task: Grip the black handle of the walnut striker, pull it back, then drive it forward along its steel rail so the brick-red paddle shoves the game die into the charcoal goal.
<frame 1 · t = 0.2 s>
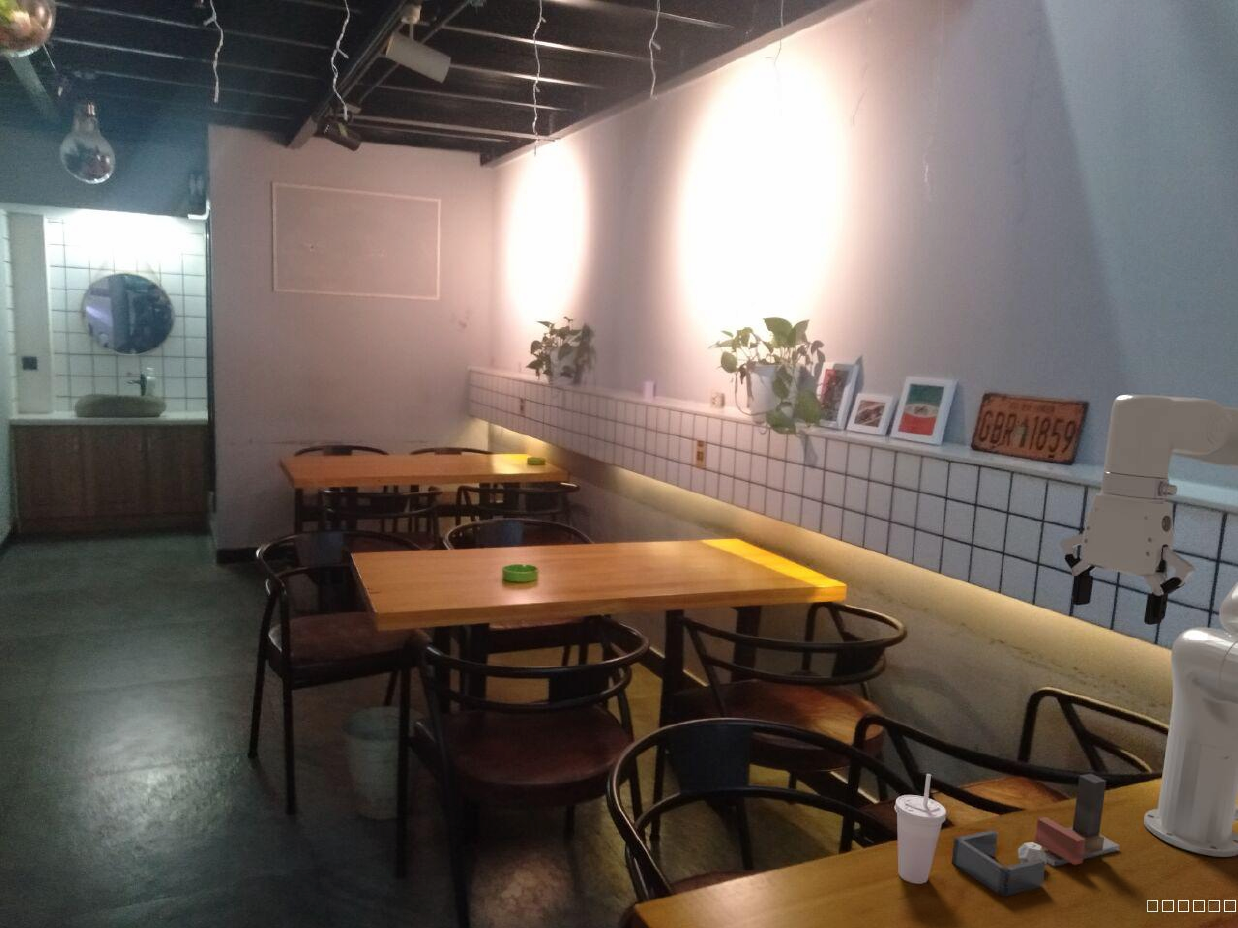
hand: (1115, 613, 123), 36 cm above the table, tool pointing down, fingers open, 9 cm apart
smoothie: (912, 876, 120), on the table
goal: (998, 873, 122), on the table
striker: (1077, 814, 128), point 6 cm above the table, slide at 0.0 cm
game die: (1030, 867, 125), on the table
rail: (1079, 853, 129), on the table
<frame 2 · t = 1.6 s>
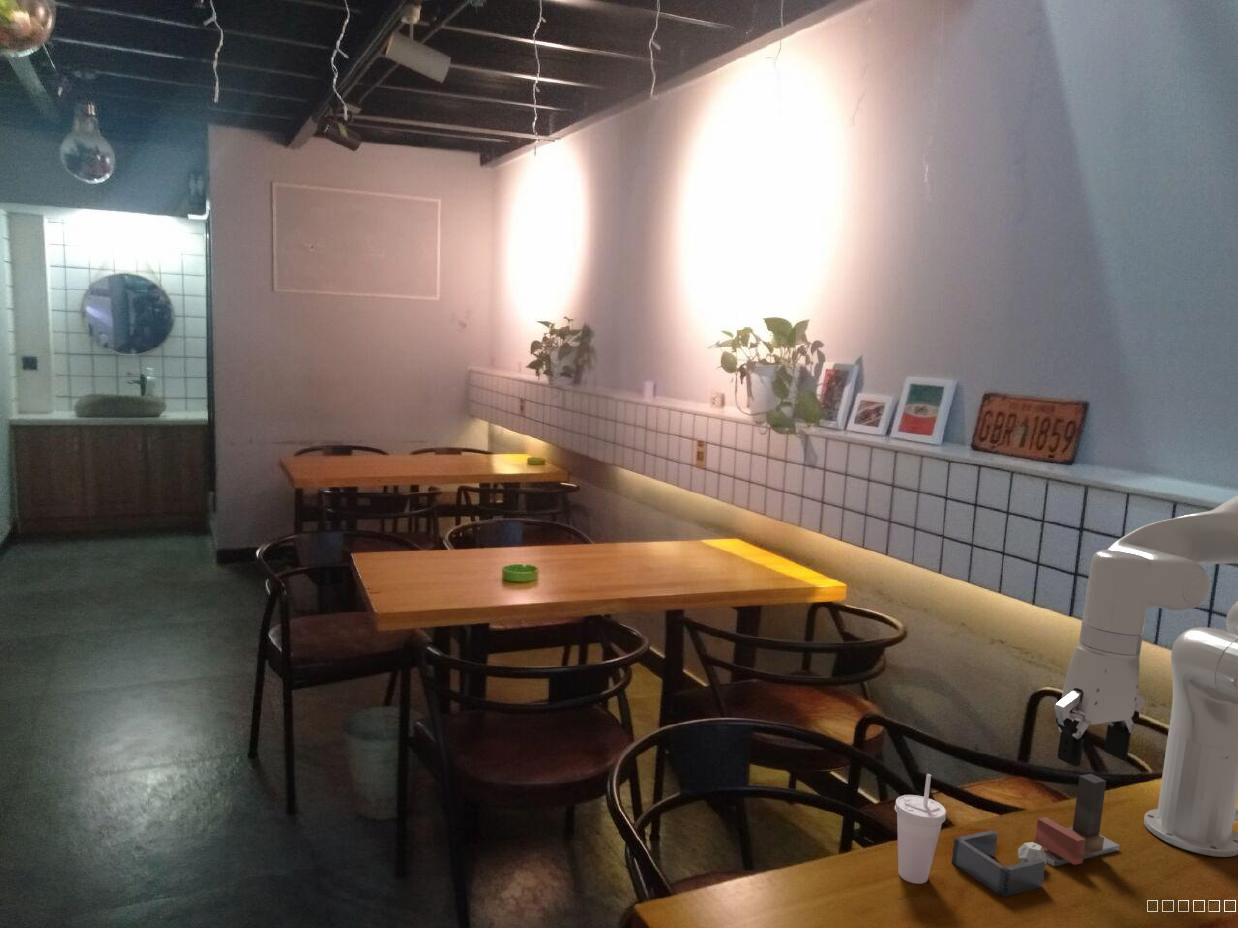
hand: (1092, 758, 128), 14 cm above the table, tool pointing down, fingers open, 9 cm apart
nothing on the table moved.
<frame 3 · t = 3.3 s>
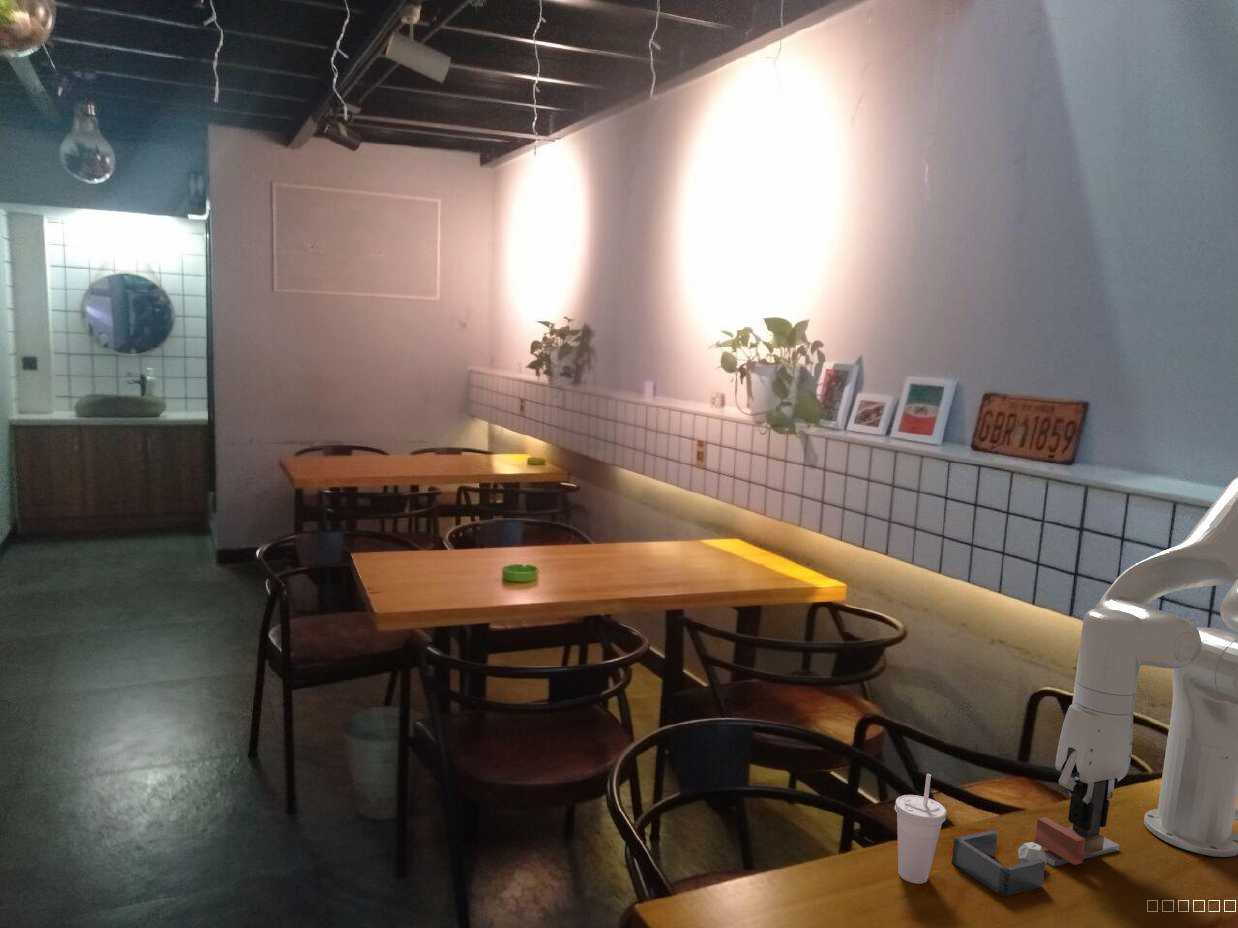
hand: (1086, 823, 129), 4 cm above the table, tool pointing down, fingers closed on striker, 2 cm apart
striker: (1077, 814, 128), point 6 cm above the table, slide at 0.0 cm, touching gripper
everything else where it was.
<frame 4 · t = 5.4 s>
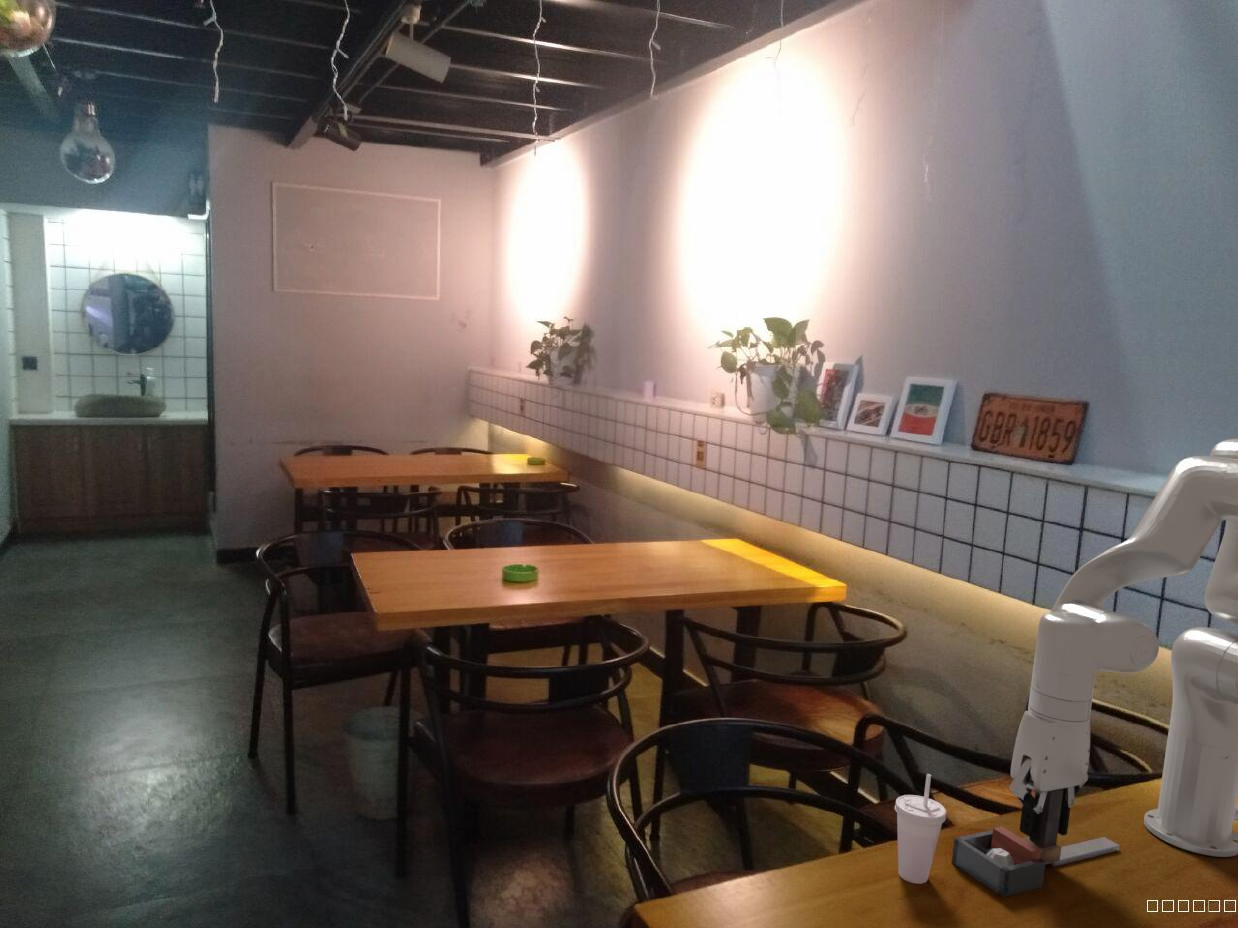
hand: (1043, 831, 125), 5 cm above the table, tool pointing down, fingers open, 4 cm apart
striker: (1033, 823, 124), point 6 cm above the table, slide at 8.7 cm
game die: (997, 874, 123), on the table
everything else where it was.
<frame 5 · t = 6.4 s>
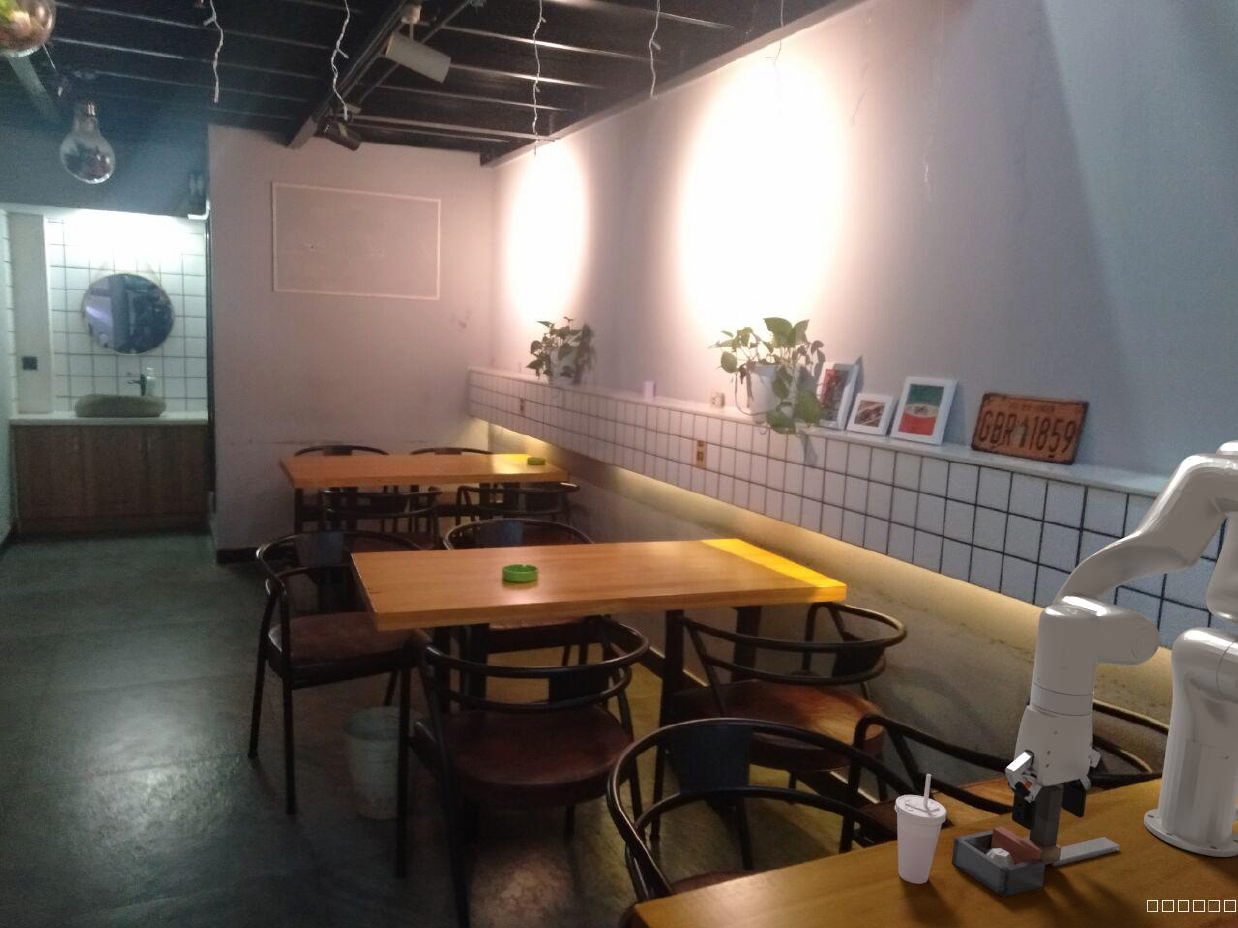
hand: (1047, 818, 125), 6 cm above the table, tool pointing down, fingers open, 9 cm apart
nothing on the table moved.
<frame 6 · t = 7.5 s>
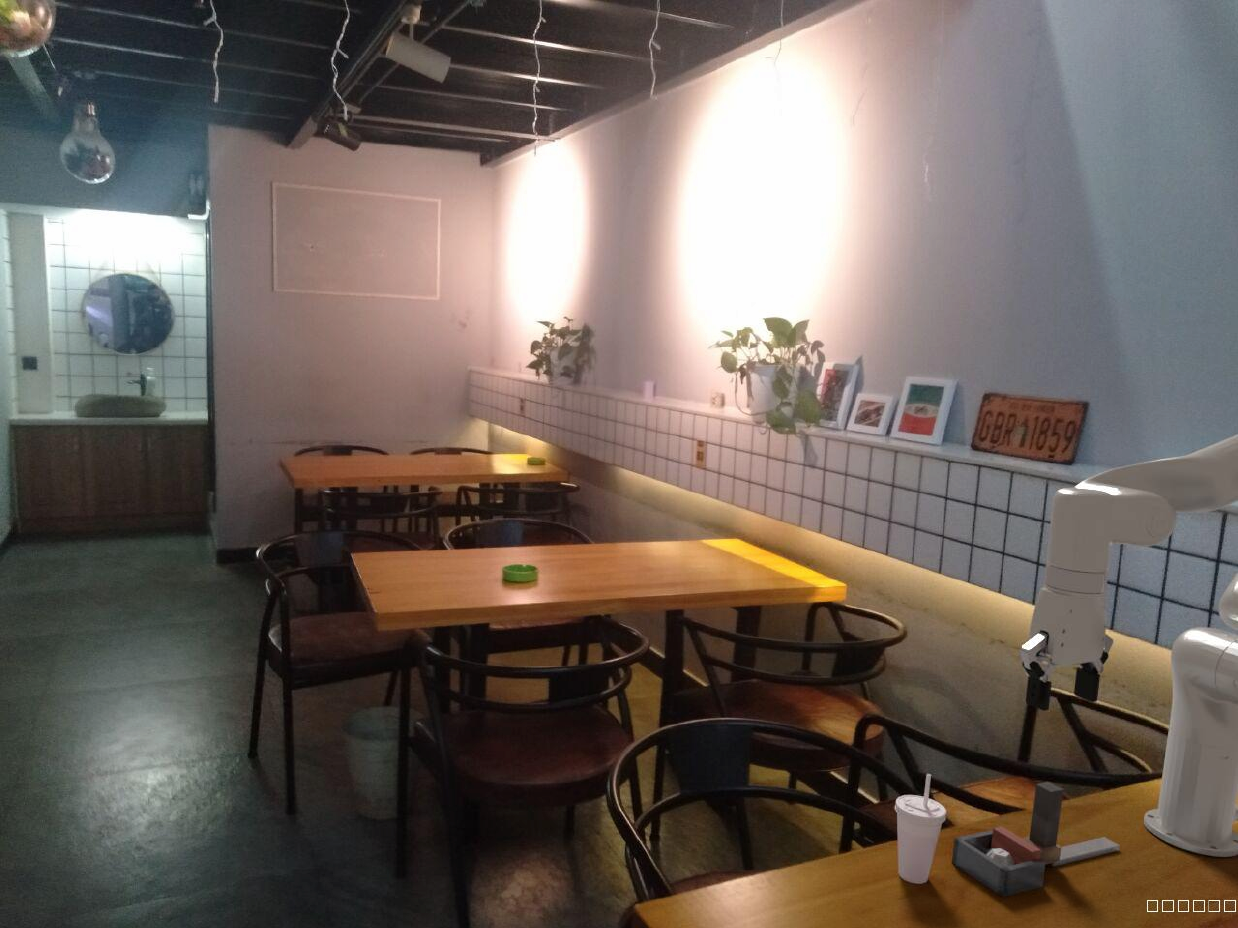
hand: (1061, 702, 125), 23 cm above the table, tool pointing down, fingers open, 9 cm apart
nothing on the table moved.
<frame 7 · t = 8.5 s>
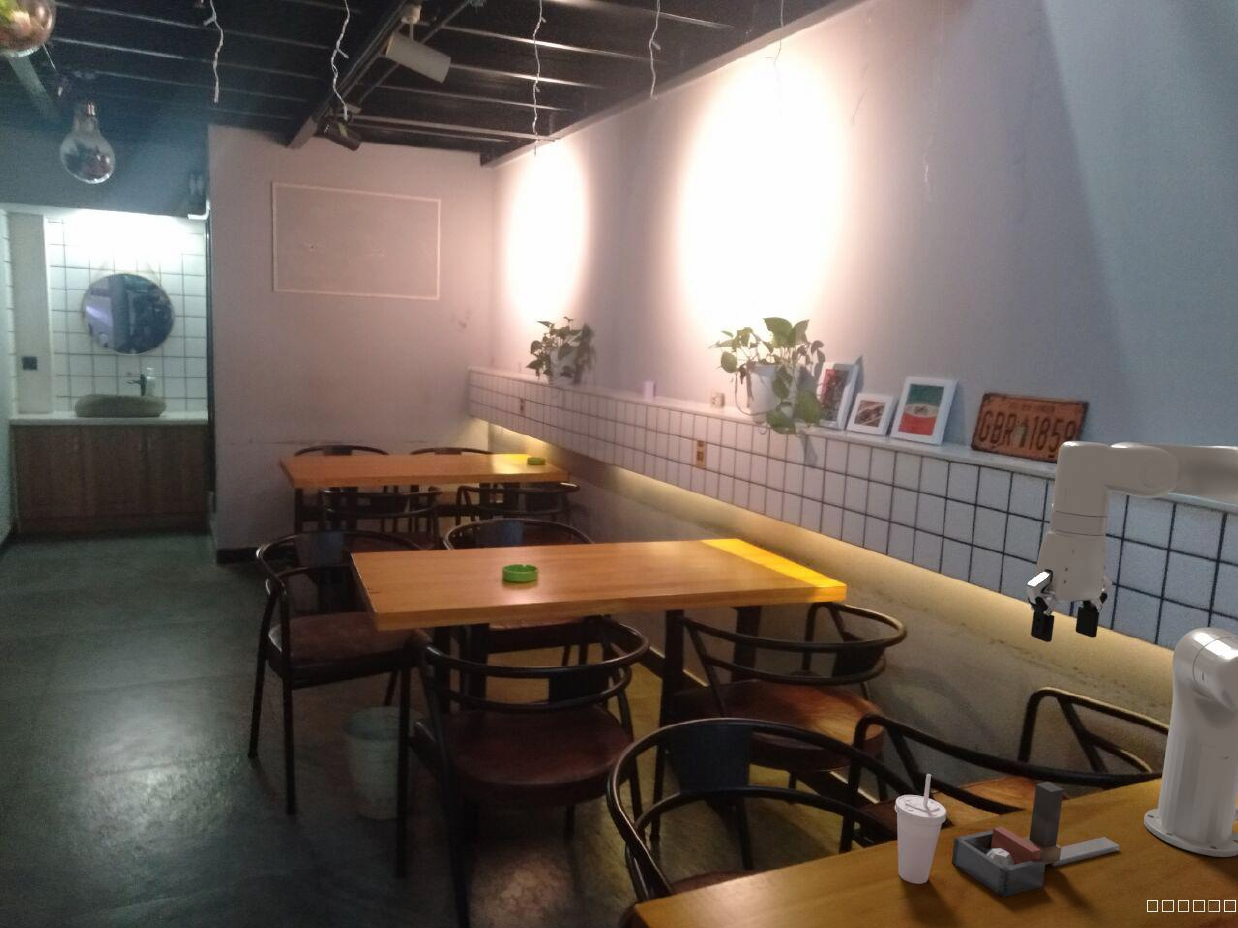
hand: (1063, 637, 137), 28 cm above the table, tool pointing down, fingers open, 9 cm apart
nothing on the table moved.
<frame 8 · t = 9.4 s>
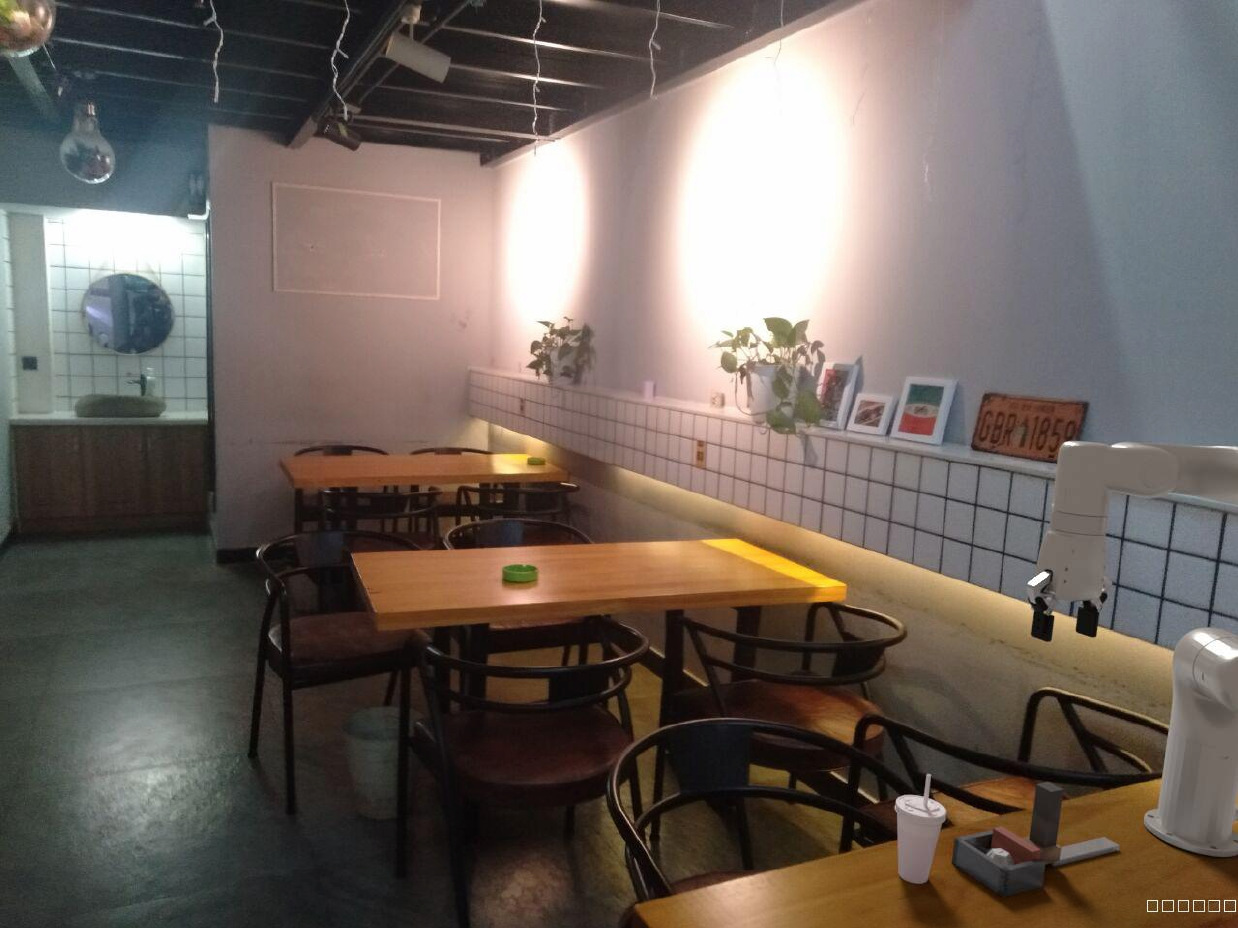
hand: (1063, 636, 137), 28 cm above the table, tool pointing down, fingers open, 9 cm apart
nothing on the table moved.
at the end: game die 1.1 cm from the target spot, on the table; game die moved 6.0 cm from its start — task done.
